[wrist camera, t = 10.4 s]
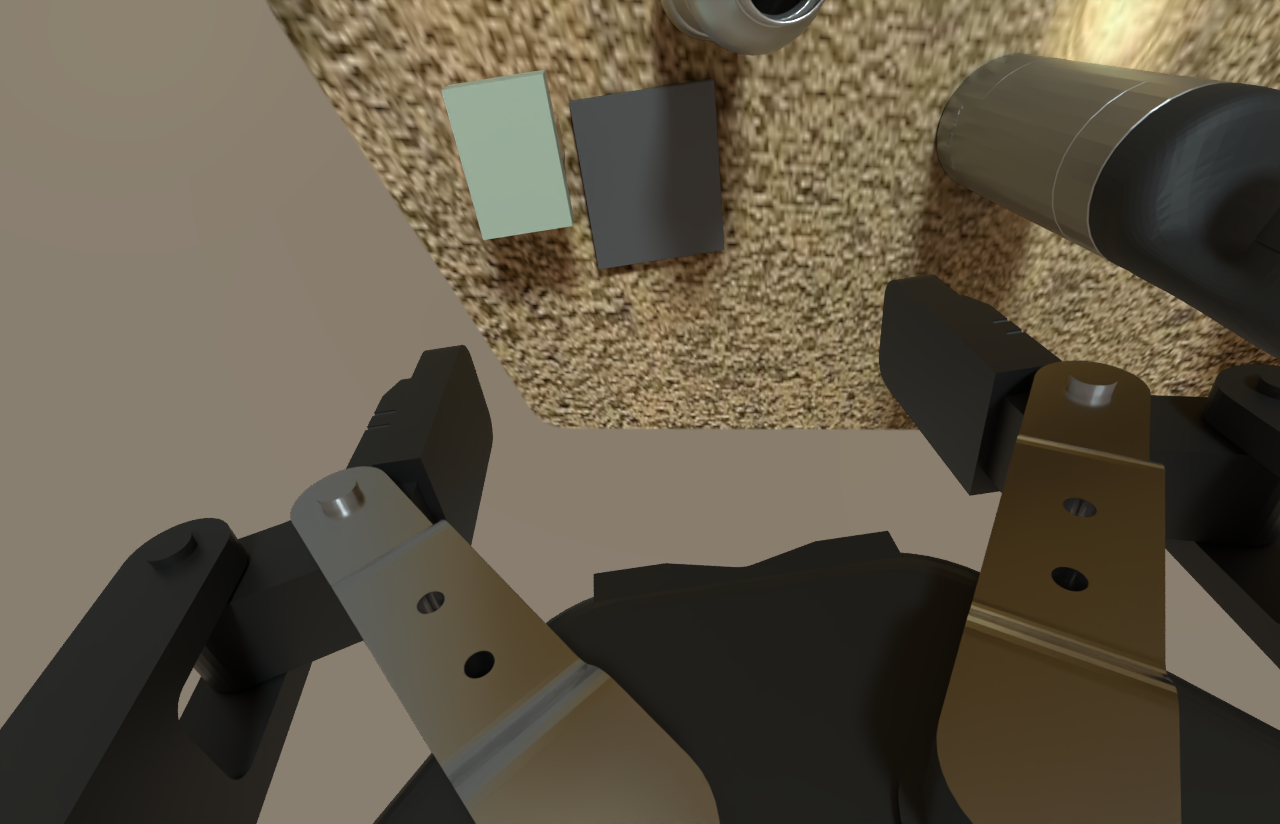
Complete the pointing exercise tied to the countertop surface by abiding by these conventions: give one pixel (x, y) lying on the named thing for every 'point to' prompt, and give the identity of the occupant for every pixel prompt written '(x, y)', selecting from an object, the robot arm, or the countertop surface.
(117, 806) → the robot arm
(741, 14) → the plastic bottle
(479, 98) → the block
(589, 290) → the countertop surface
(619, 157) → the mat
